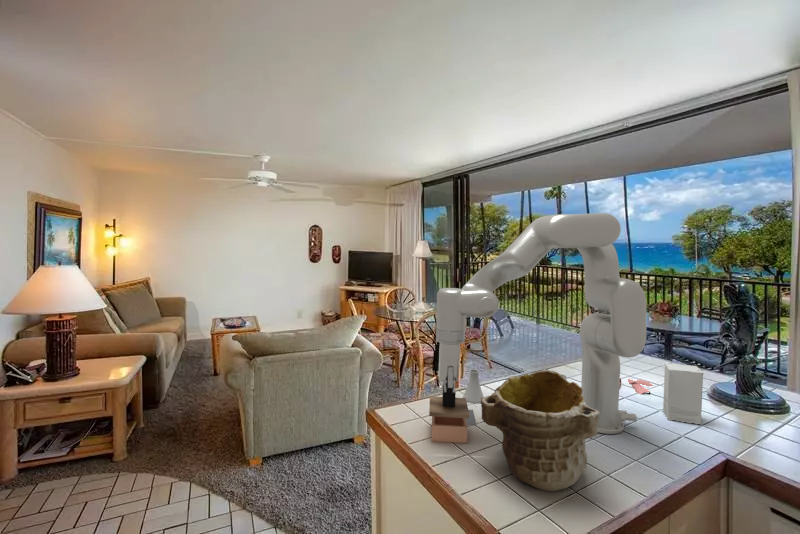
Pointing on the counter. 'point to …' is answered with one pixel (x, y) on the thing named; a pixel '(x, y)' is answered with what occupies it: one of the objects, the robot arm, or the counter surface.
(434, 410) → the lid
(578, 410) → the ceramic vessel
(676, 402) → the skincare box
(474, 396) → the flask
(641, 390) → the cloth
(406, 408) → the counter surface
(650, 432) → the counter surface
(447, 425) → the open square container
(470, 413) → the mat
